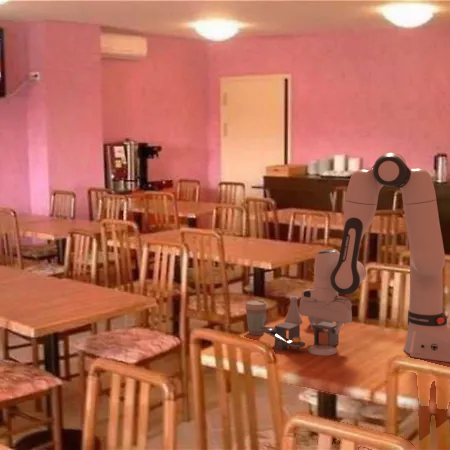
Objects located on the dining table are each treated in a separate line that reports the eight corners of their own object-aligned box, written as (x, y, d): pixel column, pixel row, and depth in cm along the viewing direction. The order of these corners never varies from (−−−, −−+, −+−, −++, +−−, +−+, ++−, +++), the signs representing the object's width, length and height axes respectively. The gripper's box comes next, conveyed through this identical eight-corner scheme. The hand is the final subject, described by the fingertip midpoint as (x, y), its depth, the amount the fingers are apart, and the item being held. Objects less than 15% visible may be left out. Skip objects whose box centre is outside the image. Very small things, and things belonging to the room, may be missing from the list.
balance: (308, 351, 270) (308, 334, 269) (298, 355, 265) (298, 338, 264) (266, 342, 281) (266, 325, 280) (256, 346, 276) (256, 329, 275)
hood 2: (338, 343, 279) (338, 324, 278) (329, 347, 274) (329, 328, 273) (323, 340, 283) (323, 321, 282) (314, 344, 278) (314, 325, 277)
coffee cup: (265, 336, 288) (265, 305, 286) (243, 335, 290) (243, 304, 288) (269, 330, 296) (269, 300, 295) (247, 329, 298) (247, 299, 296)
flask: (301, 325, 304) (301, 300, 303) (283, 324, 305) (283, 299, 304) (303, 320, 311) (303, 296, 310) (285, 319, 312) (285, 295, 311)
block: (333, 343, 279) (334, 331, 279) (328, 346, 276) (328, 333, 276) (324, 341, 282) (324, 329, 281) (318, 344, 279) (318, 332, 278)
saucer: (342, 350, 270) (342, 348, 270) (327, 357, 263) (327, 355, 262) (318, 345, 276) (318, 343, 276) (302, 352, 269) (302, 350, 269)
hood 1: (299, 343, 279) (299, 324, 278) (289, 347, 274) (289, 328, 273) (285, 340, 283) (285, 321, 282) (275, 344, 278) (275, 325, 277)
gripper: (355, 296, 272) (354, 334, 274) (306, 288, 285) (306, 324, 287) (347, 300, 267) (345, 338, 269) (297, 291, 280) (296, 328, 282)
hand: (324, 331), depth 278 cm, fingers open, 8 cm apart
